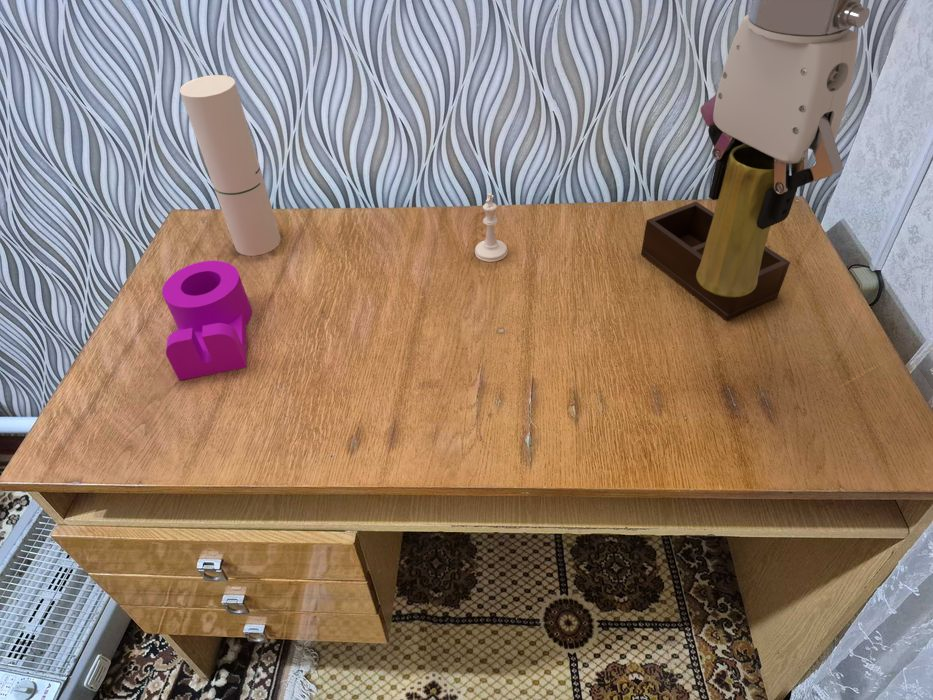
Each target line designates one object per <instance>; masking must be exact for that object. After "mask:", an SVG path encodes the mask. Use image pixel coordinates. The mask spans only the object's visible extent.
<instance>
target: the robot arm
mask: <svg viewBox="0 0 933 700" xmlns="http://www.w3.org/2000/svg"><path fill="white" fill-rule="evenodd" d="M869 17H870V8H869V7H865V6H863V5H862V3H861V0H751V3H750V8H749V12H748V14H746V15H745V16H744V17H742V20H741V22H740V23H739V25H738V26H739V27H738V29H737V31H736V33H735V35H734V38H733V41H732V43H731V46H730V49H729V51H728V54H727V57H726V60H725V63H724V66H723V68H722V69H723V70H722V72H721V73H722V74H721V77H720V80H719V84H718V87H717V91H716V94H715V95H713V96H712V97H711V98H709V99H708V100H707V101H706V102H705V103H704V104H702V105H701V107H700V114H701V116H702V118H703V120H704V122H705V124H706V127H708V129H707V132H708V135H709V138H710V140H711V143H712V145H713V149H712V150H711V151H712V152H711V155H712V158H713V159H714V160H715V166H714V169H713V170H714V171H713V175H712V179H711V184H710V185H711V186H710V189H709V194H708V198H709V199H711V200H713V201H718V198H719V194H720V191H721V187H722V183H723V179H724V175H725V171H726V167H727V162H728V159H729V155H730V153H731V151H732V149H734V148H735V147H737V146H740V145H742V144H747V145H749V146H751V147H753V148H755V149H757V150H759V151H761V152H763V153H765V154H767V155H769V156H771V157H773V158H774V187H772V188H770V189H768V190H767V191H766V193H765V196H764V200H763V203H762V207H761V210H760V213H759V217H758V220H757V227H759V228H760V229H765V228H768V227H770V228H771V227H772V226H774V225H777V224H779V223H782V222H783V221H784V220H786V219H787V218H788V216H789V215H790V212H791V209H792V207H793V204H794V200H795V197H796V195H797V191H798V188H800V187H802V186H805V185H807V184H809V183H810V184H811V183H813V182H816V181H817V182H818V181H820V180H822V179H826V178H830V177H832V176H834V175H837V174H838V173H841V172H842V171H843V168H844V167H843V162H842V159H841V156H840V152H839V149H838V146H837V143H836V139H837V136H838V134H839V130H840V128H841V124H842V121H843V118H844V114H845V111H846V107H847V103H848V99H849V96H850V92H851V88H852V82H853V78H854V73H855V67H856V60H857V53H858V45H859V43H858V42H859V41H858V40H859V33H857V32H855V31H853V30H851V29H850V28H852V27H853V28H854V27H855V28H858V29H859V28H861V27H863V26H864V25H865V24H866V22H867V21H868V19H869ZM809 150H811V151H812V152H813V155H814V158H815V164H814V165H812V166H809V164H808V162H809ZM808 166H809V167H808ZM790 170H791V171H790ZM790 174H791V175H790Z"/></svg>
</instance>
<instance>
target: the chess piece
mask: <svg viewBox="0 0 933 700" xmlns="http://www.w3.org/2000/svg"><path fill="white" fill-rule="evenodd" d="M494 197H495V196H494V195H493V194H492V193H490V192H488V193H487V199H486V200H485V203H484V204H483V205H482V209H483V212H484V213H485V217H483V219H482V223H483V224H484V225H485V226H486V234H485V239H484V240H482V241H480V242H478V243H477V244H476V245H475V248H474V254H475V257H476V258H477V259H479V260H480V261H483V262H486V263H487V262H489V263H493V262H498V261H502V260H503V259H505V258H506V257H507V255H508V252H509V251H508V247H507V244H506V243H505V242H503V241H502V240H500V239H497V237H496V230H495V225H496V224H497V223H498V218H497V216H495V215H496V211H497V208H498V205H497V204H496V203H495V202H493V200H494Z"/></svg>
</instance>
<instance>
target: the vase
mask: <svg viewBox="0 0 933 700" xmlns="http://www.w3.org/2000/svg"><path fill="white" fill-rule="evenodd" d="M772 187H774V158H773V157H771V156H769V155H767V154H765V153H763V152H761V151H759V150H757V149H755V148H753V147H751V146H749V145H747V144H742V145H740V146H737V147H735V148H734V149H732V151H731V153H730V155H729V159H728V162H727V167H726V171H725V175H724V179H723V183H722V187H721V191H720V194H719V198H718V199H717V202H716V205H715V208H714V211H713V213H714V216H713V220H712V224H711V227H710V230H709V234H708V237H707V241H706V244H705V248H704V252H703V256H702V260H701V263H700V266H699V268H698V270H697V273H696V278H697V281H698V282H699V284H700V285H701V286H702V287H703V288H704V289H706V290H707V291H709V292H711V293H713V294H715V295H718V296H723V297H741V296H745V295H747V294H749V293H751V292H752V291H753V290H754V289H755V288H756V286H757V282H758V275H759V270H760V265H761V260H762V256H763V252H764V248H765V246H766V244H767V240H768V237H769V233H770V230H771V226H770V227H768V228H765V229H760V228H759V227H757V220H758V217H759V213H760V210H761V207H762V203H763V200H764V196H765V193H766V191H767V190H768V189H770V188H772Z"/></svg>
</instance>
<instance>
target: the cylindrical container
mask: <svg viewBox="0 0 933 700" xmlns="http://www.w3.org/2000/svg"><path fill="white" fill-rule="evenodd" d="M179 93H180V96H181V99H182V101H183V104H184V107H185V110H186V113H187V116H188V119H189V121H190V124H191V127H192V130H193V133H194V135H195V138H196V141H197V144H198V147H199V150H200V153H201V155H202V158H203V161H204V164H205V167H206V170H207V172H208V175H209V178H210V181H211V183H212V187H213V190H214V193H215V195H216V197H217V201H218V203H219V206H220V209H221V212H222V215H223V218H224V220H225V223H226V226H227V228H228V232H229V235H230V237H231V240H232V243H233V246H234V248H235V251H236V252H237V253H239V254H240V255H243V256H247V257H256V256H261V255H265V254H267V253H270V252H272V251H273V250H275V249H276V248H277V247H278V246H279V245H280V243H281V241H282V238H281V233H280V231H279V227H278V224H277V219H276V216H275V213H274V210H273V207H272V203H271V200H270V196H269V192H268V189H267V186H266V183H265V180H264V176H263V172H262V170H261V166H260V163H259V158H258V156H257V153H256V149H255V146H254V141H253V138H252V135H251V132H250V131H251V130H250V128H249V125H248V122H247V118H246V115H245V112H244V108H243V105H242V101H241V97H240V94H239V91H238V87H237V84H236V81H235V78H233V77H232V76H230V75H225V74H211V75H204V76H200V77H197V78H193V79H191V80H189V81H187V82H185V83H183V84H182V85H181V86H180V88H179Z"/></svg>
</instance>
